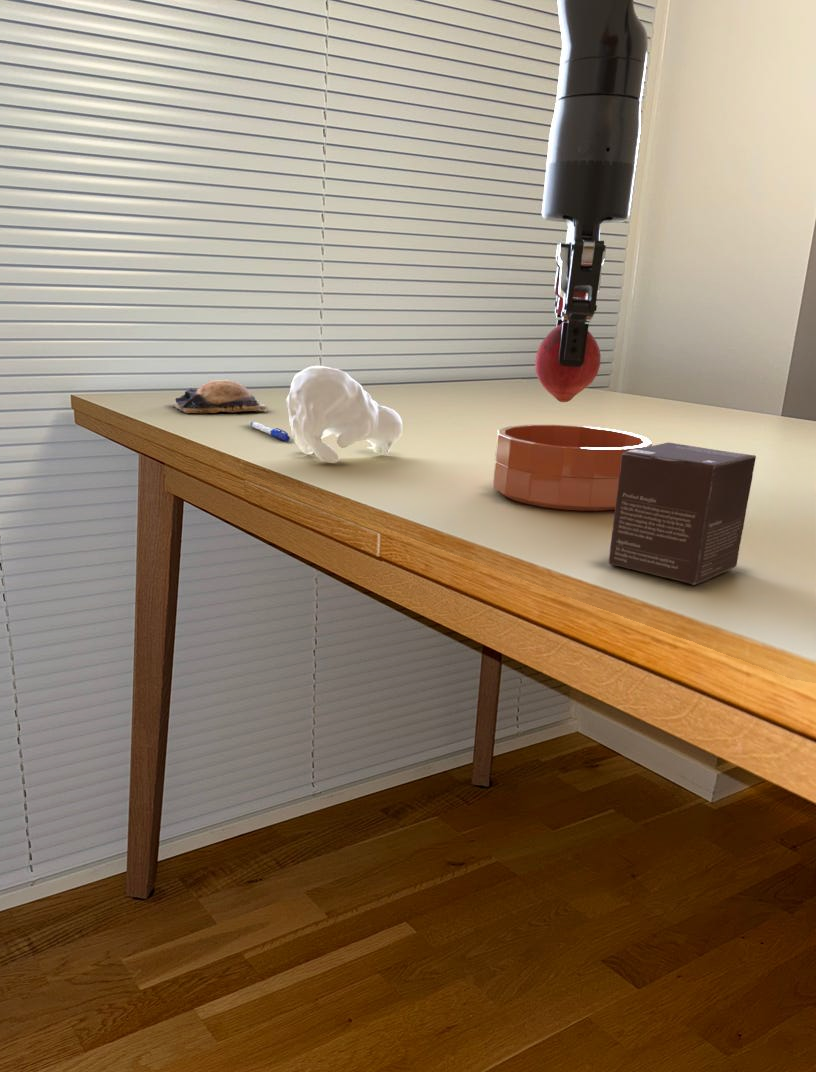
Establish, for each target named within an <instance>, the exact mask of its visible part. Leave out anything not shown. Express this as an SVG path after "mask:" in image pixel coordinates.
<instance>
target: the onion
mask: <svg viewBox="0 0 816 1072" xmlns="http://www.w3.org/2000/svg"><path fill="white" fill-rule="evenodd" d="M564 322H568V321H564ZM562 324H563V323H562ZM562 324H560V325H559V326H557V325H556V326H557V327H554V328H553V329H552V330H551V331H550V332H549V333H548V334H547V335H546V336H545V337H544V339H543V340H542V342H541V343H540V345H539V347H538V349H537V351H536V356H535V360H534V361H535V362H534V363H535V366H534V367H535V373H536V376H537V378H538V381H539V383H540V384H541V386H542V387H543V389H545V390H546V391H547V392H548V393H549V394H550V395H551V396H552V397H553V398H555V399H556V401H558V402H559V403H568V402H570V401H572V399H573V398H574V397H576V396H577V395H579V394H580V393H581V392H582V391H584V390H585V389H586V388H587V387H589V386H590V385H591V384H592V383H593V382H594V380H595V379H596V377H597V376H598V373H599V370H600V366H601V356H602V355H601V350H600V347H599V344H598V342H597V340H596V338H595V337H594V335H593V333H591V331H590V330H588V334H587V343H586V351H585V359H584V364H583V365H582V366H580V367H569V366H562V365H560V364H559V361H558V359H559V350H560V341H561V333H562Z"/></svg>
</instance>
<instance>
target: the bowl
mask: <svg viewBox="0 0 816 1072" xmlns="http://www.w3.org/2000/svg"><path fill="white" fill-rule="evenodd" d="M650 446H653V443H652V441H651V440H649V438H647V437H645V436H642V435H639V434H635V433H633V432H627V431H621V430H616V429H611V428H601V427H594V426H583V425H570V424H569V425H568V424H522V425H520V424H519V425H509V426H505V427H503V428H499V429H498V430H497V436H496V445H495V457H494V467H493V476H492V477H493V478H492V487H493V489H494V490H495V491H497V492H499V493H501V494H503V495H504V496H505V497H507V498H508V499H511V500H513V501H516V502H519V503H521V504H526V505H529V506H530V505H531V506H536V507H540V508H545V509H546V508H547V509H553V510H562V511H563V510H565V511H577V512H578V511H579V512H581V511H582V512H583V511H584V512H599V511H600V512H601V511H613V510H615V507H616V498H617V491H618V482H619V474H620V467H621V457H622V454H623V453H625V452H627V451H630V450H634V449H639V448H645V447H650Z"/></svg>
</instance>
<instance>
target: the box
mask: <svg viewBox="0 0 816 1072" xmlns="http://www.w3.org/2000/svg"><path fill="white" fill-rule="evenodd" d="M756 459H757V456H756V455H755V454H747V453H739V452H732V451H725V450H719V449H713V448H707V447H700V446H694V445H687V444H680V443H675V442H665V443H658V444H654V445H652V446H650V447H645V448H639V449H634V450H630V451H627V452H625V453H623V454H622V457H621V467H620V474H619V482H618V491H617V498H616V507H615V509H614V516H613V522H612V531H611V539H610V548H609V558H608V564H609V565H611V566H616V567H621V568H625V569H629V570H634V571H638V572H642V573H647V574H650V575H653V576H659V577H662V578H667V579H670V580H675V581H679V582H683V583H686V584H690V585H693V586H695V585H698V584H700V583H703V582H705V581H708V580H709V579H712V578H714V577H716V576H718V575H720V574H724V573H726V572H729V571H731V570H733V569H734V568H737V563H738V558H739V551H740V546H741V541H742V537H743V536H742V535H743V530H744V526H745V520H746V514H747V509H748V504H749V503H748V502H749V499H750V494H751V493H750V492H751V486H752V483H753V482H752V481H753V476H754V469H755V464H756Z"/></svg>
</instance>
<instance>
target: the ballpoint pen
mask: <svg viewBox="0 0 816 1072" xmlns="http://www.w3.org/2000/svg"><path fill="white" fill-rule="evenodd" d="M250 426H251V428H254V429H257V430H259V431H261V432H263V433H266V434H268V435H270V436H272V437H274V438H277V439H279V440H281V441H285V442H289V441H290V440H291V437H290V436H289V433H288V432H287V431H285V430H284V429H281V428H279V427H275V428H271V427H269V426H267V425H264V424H261V423H259V422H256V421H251V422H250Z"/></svg>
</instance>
